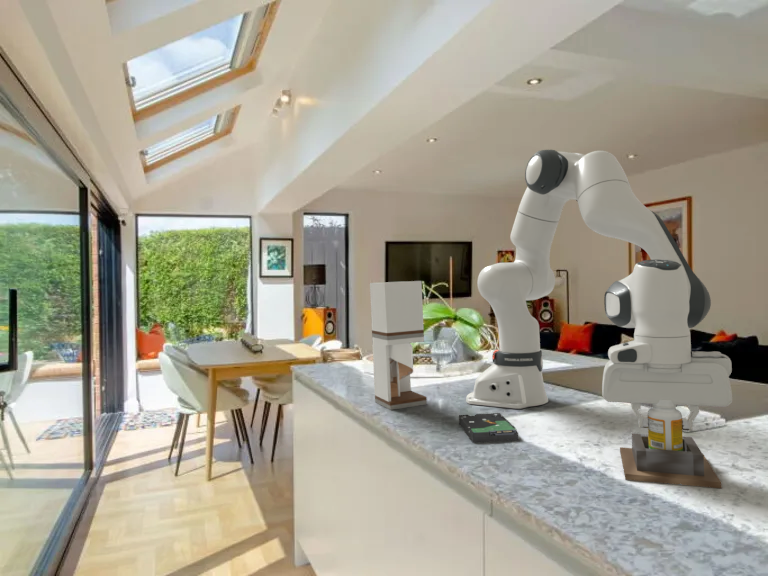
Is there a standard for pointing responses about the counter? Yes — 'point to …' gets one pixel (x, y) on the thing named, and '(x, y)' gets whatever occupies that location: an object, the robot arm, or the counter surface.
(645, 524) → the counter surface
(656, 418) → the supplement bottle
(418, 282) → the white tower
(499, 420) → the disk drive
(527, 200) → the robot arm
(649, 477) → the socket board
